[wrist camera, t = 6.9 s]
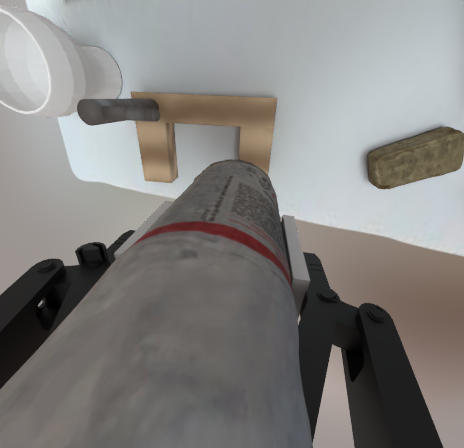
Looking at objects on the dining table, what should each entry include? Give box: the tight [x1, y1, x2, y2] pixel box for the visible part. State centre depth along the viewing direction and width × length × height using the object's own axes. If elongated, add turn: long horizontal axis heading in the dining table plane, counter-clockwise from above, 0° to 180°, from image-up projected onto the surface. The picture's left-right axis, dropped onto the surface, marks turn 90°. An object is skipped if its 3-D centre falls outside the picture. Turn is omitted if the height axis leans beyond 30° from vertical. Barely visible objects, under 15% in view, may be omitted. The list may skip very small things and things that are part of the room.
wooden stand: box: [77, 92, 277, 183], centre depth 32 cm, size 14×22×18 cm, turn 88°
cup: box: [0, 5, 122, 118], centre depth 30 cm, size 11×11×15 cm
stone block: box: [368, 127, 464, 189], centre depth 34 cm, size 6×12×5 cm, turn 113°
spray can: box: [0, 159, 313, 448], centre depth 13 cm, size 8×8×20 cm
